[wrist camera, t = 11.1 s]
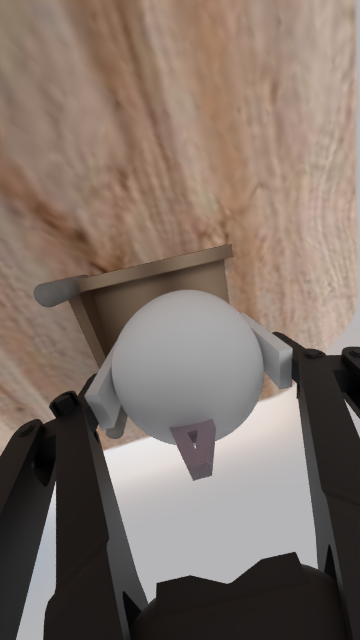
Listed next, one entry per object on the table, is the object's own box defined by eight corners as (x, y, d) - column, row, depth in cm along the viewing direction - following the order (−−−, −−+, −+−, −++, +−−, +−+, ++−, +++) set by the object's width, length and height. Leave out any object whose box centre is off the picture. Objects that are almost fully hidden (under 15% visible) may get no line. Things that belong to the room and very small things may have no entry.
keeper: (123, 394, 23) (109, 440, 17) (73, 277, 17) (29, 286, 12) (236, 368, 22) (259, 406, 17) (220, 242, 17) (246, 236, 12)
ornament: (173, 389, 20) (182, 552, 9) (107, 326, 17) (-2, 459, 6) (247, 338, 19) (369, 459, 8) (191, 258, 16) (258, 263, 4)
